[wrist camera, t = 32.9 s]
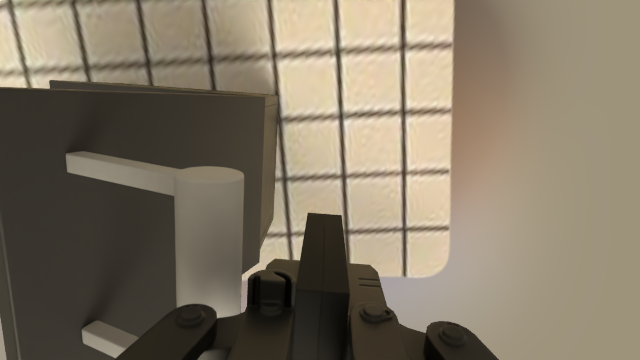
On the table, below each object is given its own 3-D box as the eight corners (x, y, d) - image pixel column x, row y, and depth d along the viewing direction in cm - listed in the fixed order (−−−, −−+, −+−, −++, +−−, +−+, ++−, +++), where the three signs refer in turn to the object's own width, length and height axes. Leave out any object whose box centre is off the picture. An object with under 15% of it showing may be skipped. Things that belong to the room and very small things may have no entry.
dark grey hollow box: (126, 208, 36) (64, 243, 28) (119, 83, 34) (48, 80, 25) (273, 219, 36) (256, 258, 28) (278, 95, 34) (262, 96, 25)
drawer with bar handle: (14, 421, 13) (180, 528, 11) (-36, 85, 11) (170, 108, 8) (250, 259, 27) (349, 287, 25) (255, 95, 25) (367, 105, 22)
